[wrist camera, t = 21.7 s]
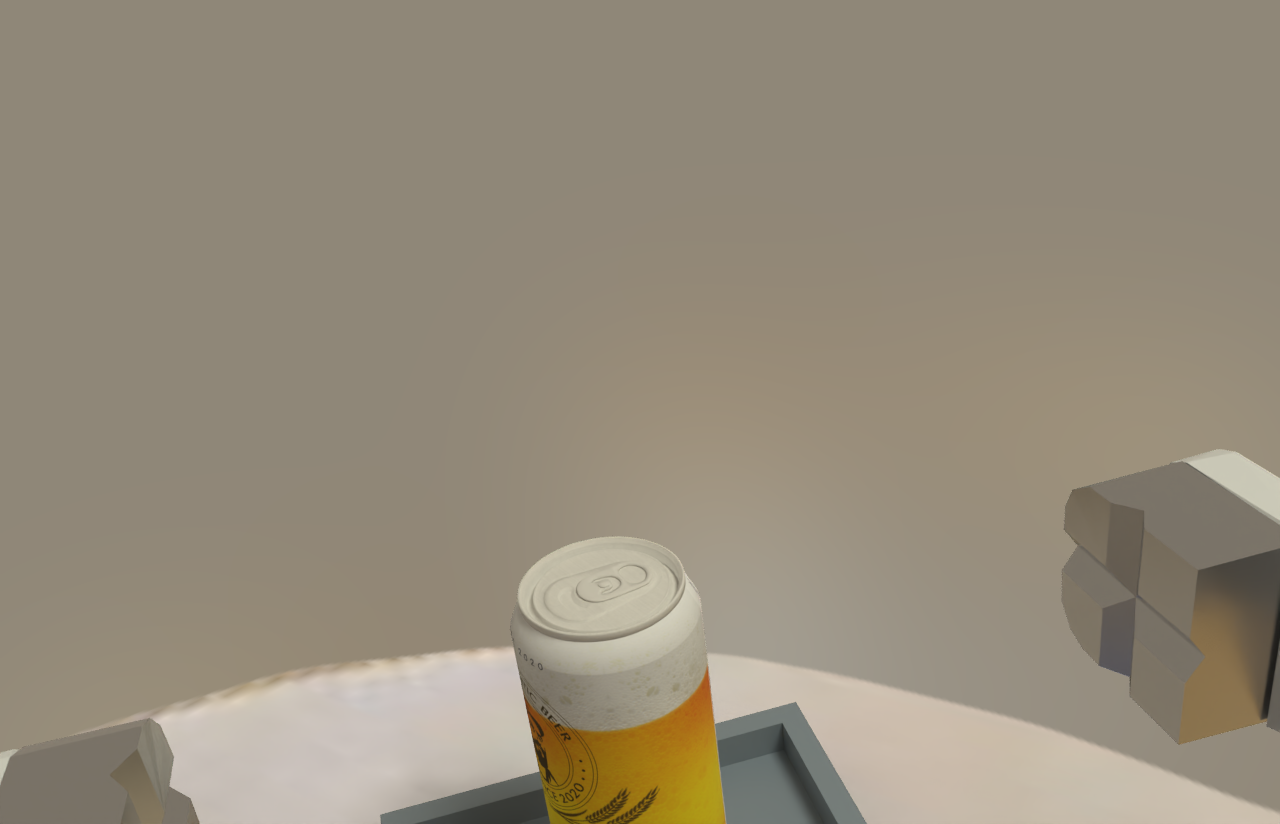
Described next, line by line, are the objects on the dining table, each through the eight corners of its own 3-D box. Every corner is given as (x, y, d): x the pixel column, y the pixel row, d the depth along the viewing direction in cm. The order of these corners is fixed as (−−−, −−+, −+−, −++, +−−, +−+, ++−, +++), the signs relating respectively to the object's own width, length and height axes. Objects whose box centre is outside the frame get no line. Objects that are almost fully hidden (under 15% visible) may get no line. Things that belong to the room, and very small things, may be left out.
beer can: (547, 897, 44) (476, 571, 37) (685, 828, 46) (641, 509, 39) (617, 1021, 39) (550, 670, 32) (768, 937, 41) (734, 593, 34)
